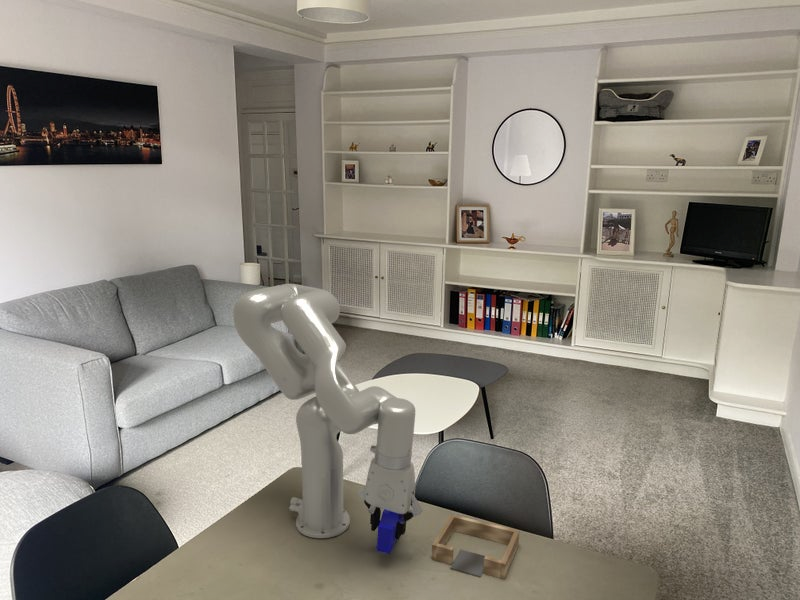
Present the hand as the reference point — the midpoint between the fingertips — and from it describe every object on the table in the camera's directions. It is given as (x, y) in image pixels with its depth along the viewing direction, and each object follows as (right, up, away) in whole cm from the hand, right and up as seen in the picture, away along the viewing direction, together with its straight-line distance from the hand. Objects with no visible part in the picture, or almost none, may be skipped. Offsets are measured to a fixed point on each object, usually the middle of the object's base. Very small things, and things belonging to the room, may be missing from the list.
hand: (387, 530), depth 134 cm
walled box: (+19, -5, +2) cm, 20 cm away
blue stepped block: (0, -1, +1) cm, 2 cm away
